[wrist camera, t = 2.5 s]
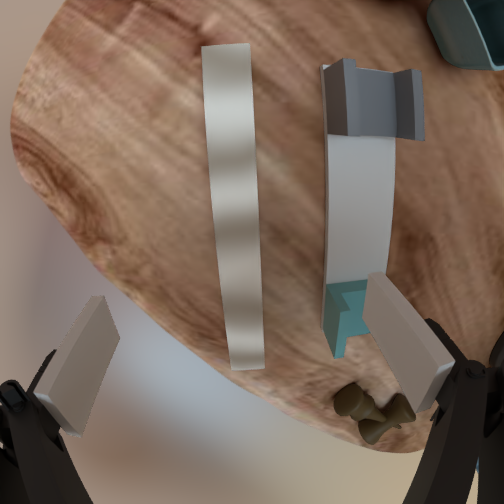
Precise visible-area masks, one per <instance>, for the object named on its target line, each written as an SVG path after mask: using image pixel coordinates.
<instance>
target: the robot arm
mask: <svg viewBox="0 0 504 504" xmlns="http://www.w3.org/2000/svg"><path fill="white" fill-rule="evenodd" d="M362 319H363V321H364V322H365V324H366V326H367V327H368V329H369V331H370V333H371V334H372V336H373V338H374V339H375V341H376V343H377V345H378V346H379V348H380V350H381V352H382V353H383V355H384V357H385V359H386V361H387V362H388V364H389V366H390V368H391V370H392V371H393V373H394V375H395V377H396V379H397V381H398V382H399V384H400V386H401V388H402V390H403V392H404V394H405V396H406V398H407V399H408V401H409V403H410V405H411V407H412V409H413V411H414V413H415V414H416V413H419V412H421V411H424V410H427V409H429V408H431V406H432V404H433V403H434V401H435V399H436V401H437V402H438V404H439V406H438V408H437V409H436V411H435V413H434V414H433V416H432V417H431V419H430V421H432V420H433V419H434V421H433V424H432V428H431V431H430V434H429V437H428V440H427V444H426V447H425V449H424V453H423V455H422V458H421V461H420V463H419V466H418V469H417V471H416V474H415V476H414V479H413V481H412V483H411V486H410V488H409V490H408V493H407V495H406V497H405V499H404V501H403V503H402V504H466V502H467V499H468V495H469V492H470V489H471V485H472V481H473V478H474V474H475V469H476V470H477V472H478V497H477V504H504V333H503V334H502V336H501V337H500V339H499V340H498V342H497V343H496V345H495V347H494V349H493V351H492V354H491V356H490V365H491V367H492V368H486V367H485V366H484V365H483V364H482V363H480V362H478V361H475V360H467V358H466V357H465V356H464V355H463V353H462V352H461V351H460V350H459V348H458V347H457V346H456V344H455V343H454V342H453V341H452V340H451V339H450V337H449V336H448V335H447V333H445V331H444V330H443V329H442V327H441V326H440V325H439V324H438V323H436V322H435V321H433V320H432V319H430V318H428V319H424V320H423V319H422V317H421V316H420V315H419V314H418V312H417V311H416V310H415V309H414V308H413V306H412V305H411V304H410V303H409V302H408V301H407V299H406V298H405V297H404V296H403V295H402V293H401V292H400V291H399V290H398V289H397V288H396V287H395V285H394V284H393V283H392V282H391V281H390V280H389V279H388V277H387V276H386V275H385V274H384V273H383V272H382V271H380V272H372V273H369V274H368V281H367V289H366V296H365V302H364V309H363V315H362ZM119 340H120V336H119V334H118V331H117V329H116V326H115V324H114V321H113V319H112V316H111V313H110V310H109V308H108V305H107V302H106V300H105V297H104V296H92V297H91V298H90V300H89V301H88V303H87V304H86V306H85V307H84V309H83V310H82V312H81V313H80V315H79V316H78V318H77V319H76V321H75V322H74V324H73V325H72V327H71V328H70V330H69V332H68V333H67V335H66V337H65V338H64V340H63V341H62V343H61V344H60V346H59V348H58V349H57V350H53V351H52V352H51V353H50V354H49V355H48V356H47V357H46V359H45V360H44V362H43V364H42V366H41V367H40V369H39V370H38V372H37V374H36V375H35V377H34V379H33V381H32V383H31V384H30V386H29V388H28V390H27V392H25V391H24V389H23V388H22V387H21V385H20V384H19V382H17V381H16V380H8V381H6V382H4V383H2V384H1V386H0V402H1V403H2V405H0V442H1V443H3V449H2V448H1V447H0V504H93V502H92V501H91V498H90V497H89V495H88V493H87V491H86V489H85V487H84V485H83V483H82V481H81V479H80V477H79V476H78V473H77V471H76V469H75V467H74V465H73V462H72V460H71V458H70V456H69V453H68V451H67V448H66V446H65V444H64V441H63V438H62V436H61V435H60V433H59V429H60V427H61V428H62V429H63V430H64V431H65V432H66V433H67V434H68V435H72V436H78V437H82V435H83V432H84V429H85V426H86V424H87V420H88V418H89V415H90V412H91V409H92V407H93V404H94V401H95V398H96V396H97V393H98V391H99V388H100V386H101V383H102V380H103V378H104V375H105V373H106V370H107V368H108V365H109V363H110V360H111V358H112V356H113V354H114V351H115V349H116V347H117V344H118V342H119Z"/></svg>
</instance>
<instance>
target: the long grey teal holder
mask: <svg viewBox="0 0 504 504" xmlns="http://www.w3.org/2000/svg"><path fill="white" fill-rule="evenodd" d="M320 75H321V87H322V101H323V118H324V140H325V180H326V217H325V258H324V281H323V298H322V313H321V326H320V327H321V330H322V332H324V333H325V336H326V339H327V341H328V344H329V346H330V349H331V351H332V354H333V357H334V359H336V358H341V357H344V351H345V346H346V339H347V337H350V336H356V335H362V334H367V333H370V331H369V329H368V327H367V326H366V324H365V322H364V321H363V319H362V315H363V309H364V302H365V296H366V289H367V281H368V274H369V273H372V272H380V271H382V272H383V273H384V274H385V275H386V268H387V261H388V253H389V245H390V236H391V226H392V215H393V201H394V183H395V137H397V138H404V139H411V140H419V141H425V131H424V101H423V86H422V75H421V71H419V70H415V69H408V70H404V71H400V72H396V73H392V72H386V71H380V70H373V69H365V68H356V60H355V59H345V58H342V59H341V60H339V61H337V62H336V63H334V64H332V65H322V66H320Z"/></svg>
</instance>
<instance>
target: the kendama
mask: <svg viewBox="0 0 504 504" xmlns="http://www.w3.org/2000/svg"><path fill="white" fill-rule="evenodd" d="M334 410H335V412H336V413H337V414H338V415H340V416H348V415H350V416H351V418H352V419H353V420H355V421H359V420H361V421H360V422H359V425H358V427H359V432H360V434H361V436H362V438H363V439H364V440H365V441H366V442H367V443H368V444H370V445H374V444H375V443H376V442H377V441H378V440H379V439H380V437H381V436H382V434H383V433H384V432H386V431H387V430H388V429H390V428H391V427H395V428H398V429H401V426H400V425H399V424H400V423H407V422H413V421H415V420H416V415H415V413H414V411H413V409H412V407H411V405H410V403H409V401H408V400H407V399H406V398H405V397H404V396H403V395H401V394H398V395H397V396H396V398H395V400H394V402H393V404H392V406H391V407H390V409H389V410H387V411H386V412H385V413H383V414H382V413H381V412H380V411H379V410H378V409H377V408H376V407H375V402H374V399H373V398H372V396H370V395H368V394H366V395H363V390H362V389H361V387H360V386H358V385H356V384H350V385H348V386H346V387H344V388H343V389H341V390H340V391H339V392H338V394H337V395H336V397H335V399H334ZM364 418H366V419H364ZM362 419H364V420H362Z"/></svg>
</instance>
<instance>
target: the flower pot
mask: <svg viewBox="0 0 504 504" xmlns="http://www.w3.org/2000/svg"><path fill="white" fill-rule="evenodd" d="M427 23H428V25H429V27H430V29H431V31H432V33H433V36H434V38H435V40H436V42H437V45H438V47H439V49H440V52H441V54H442V57H443V58H444V59H445V60H446V61H447V62H449V63H450V64H452V65H454V66H456V67H459V68H462V69H473V70H493V71H499V70H504V0H432V1H431V2H430V4H429V7H428V10H427Z"/></svg>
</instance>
